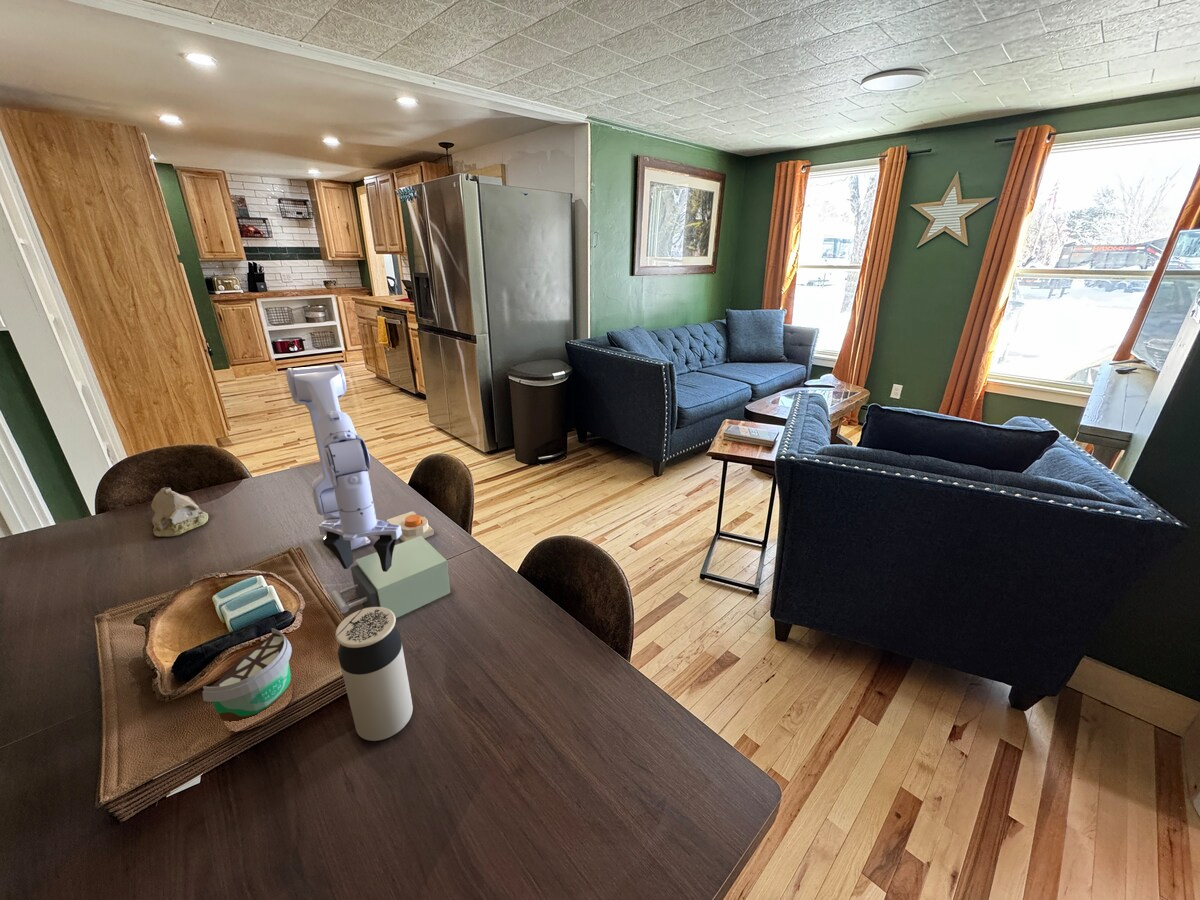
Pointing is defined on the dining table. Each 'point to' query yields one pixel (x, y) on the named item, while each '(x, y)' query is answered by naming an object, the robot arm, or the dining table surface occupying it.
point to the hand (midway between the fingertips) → (367, 567)
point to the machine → (408, 576)
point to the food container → (253, 680)
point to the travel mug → (374, 672)
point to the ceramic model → (175, 513)
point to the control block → (412, 532)
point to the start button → (413, 520)
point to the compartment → (357, 592)
